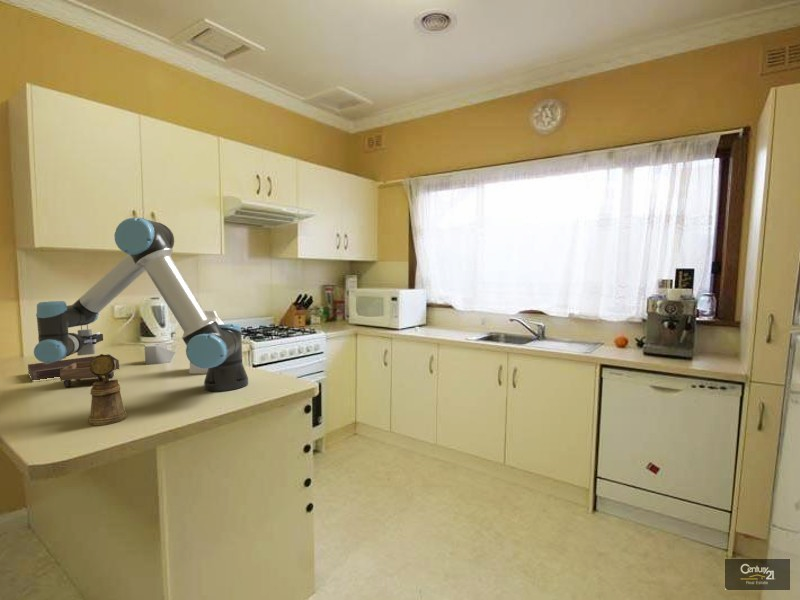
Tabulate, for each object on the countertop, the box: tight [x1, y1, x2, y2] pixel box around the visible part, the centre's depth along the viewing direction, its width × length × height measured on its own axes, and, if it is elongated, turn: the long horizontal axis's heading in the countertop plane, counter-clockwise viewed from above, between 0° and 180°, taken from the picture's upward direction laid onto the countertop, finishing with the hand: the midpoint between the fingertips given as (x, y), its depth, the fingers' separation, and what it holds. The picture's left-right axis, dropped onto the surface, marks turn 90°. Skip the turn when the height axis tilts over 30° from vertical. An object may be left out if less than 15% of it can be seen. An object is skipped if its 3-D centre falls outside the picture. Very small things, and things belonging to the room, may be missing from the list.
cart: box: [59, 360, 117, 388], centre depth 163 cm, size 14×14×7 cm
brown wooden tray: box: [27, 354, 120, 381], centre depth 181 cm, size 29×19×5 cm, turn 136°
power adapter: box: [76, 324, 96, 357], centre depth 161 cm, size 3×5×12 cm, turn 127°
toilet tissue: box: [144, 342, 176, 365], centre depth 200 cm, size 9×13×9 cm
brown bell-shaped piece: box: [88, 353, 128, 426], centre depth 121 cm, size 9×14×18 cm, turn 40°
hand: (89, 335), depth 166 cm, fingers closed on power adapter, 6 cm apart
